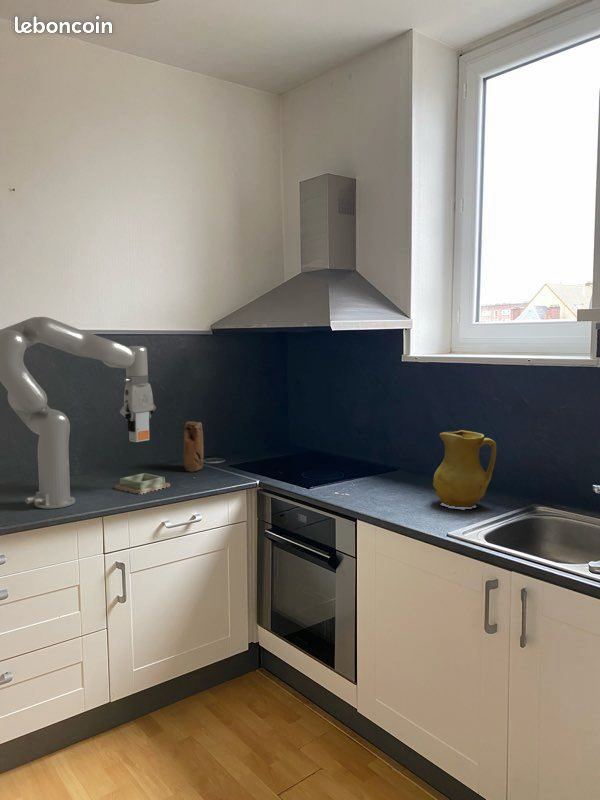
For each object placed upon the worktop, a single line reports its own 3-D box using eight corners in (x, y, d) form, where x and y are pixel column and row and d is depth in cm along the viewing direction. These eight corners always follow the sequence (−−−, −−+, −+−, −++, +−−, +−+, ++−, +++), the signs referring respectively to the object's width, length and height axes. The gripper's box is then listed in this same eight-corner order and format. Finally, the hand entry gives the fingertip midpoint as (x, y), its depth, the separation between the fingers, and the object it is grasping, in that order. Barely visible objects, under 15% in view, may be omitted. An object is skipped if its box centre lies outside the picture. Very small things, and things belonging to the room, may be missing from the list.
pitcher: (445, 494, 222) (450, 425, 218) (496, 506, 210) (502, 433, 206) (422, 506, 209) (426, 432, 205) (475, 519, 197) (481, 442, 193)
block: (187, 466, 267) (186, 420, 265) (204, 467, 267) (204, 420, 265) (182, 472, 257) (181, 424, 254) (200, 472, 256) (199, 424, 254)
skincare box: (136, 442, 224) (135, 409, 222) (129, 441, 226) (127, 408, 225) (150, 440, 228) (149, 407, 227) (142, 438, 231) (141, 406, 230)
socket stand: (140, 494, 221) (140, 484, 221) (114, 488, 230) (114, 478, 229) (170, 486, 233) (169, 477, 232) (144, 481, 241) (144, 471, 241)
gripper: (124, 383, 216) (126, 434, 218) (162, 379, 229) (164, 427, 232) (110, 382, 220) (112, 432, 222) (149, 378, 234) (151, 426, 236)
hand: (139, 429), depth 227 cm, fingers closed on skincare box, 6 cm apart
